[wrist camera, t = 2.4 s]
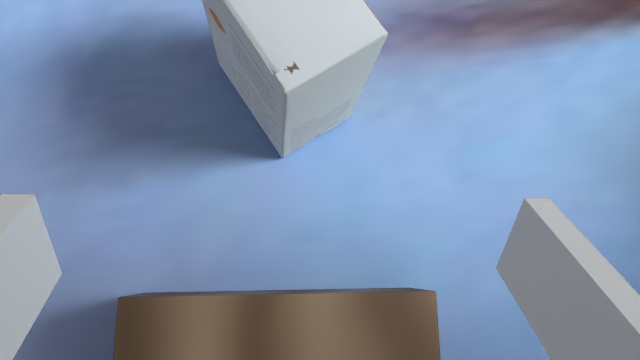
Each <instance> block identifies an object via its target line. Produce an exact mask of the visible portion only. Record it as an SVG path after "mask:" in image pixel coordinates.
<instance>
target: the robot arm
mask: <svg viewBox="0 0 640 360" xmlns="http://www.w3.org/2000/svg"><path fill="white" fill-rule="evenodd" d="M496 269H497V271H498V272H499V274H500V276H501V277H502V279H503V281H504V282H505V284H506V285H507V287H508V289H509V290H510V292H511V294H512V295H513V297H514V299H515V300H516V302H517V304H518V305H519V307H520V308H521V310H522V312H523V313H524V315H525V317H526V318H527V320H528V322H529V323H530V325H531V327H532V328H533V330H534V332H535V333H536V335H537V336H538V338H539V340H540V341H541V343H542V345H543V346H544V348H545V350H546V351H547V353H548V355H549V356H550V358H551V359H552V360H640V295H639V294H638V293H637V292H636V291H635V290H634V289H633V288H632V287H631V285H630V284H629V283H628V282H627V281H626V280H625V279H624V278H623V277H622V276H621V275H620V274H619V273H618V272H617V270H616V269H615V268H614V267H613V266H612V265H611V264H610V263H609V262H608V261H607V260H606V259H605V258H604V257H603V255H602V254H601V253H600V252H599V251H598V250H597V249H596V248H595V247H594V246H593V245H592V244H591V243H590V242H589V240H588V239H587V238H586V237H585V236H584V235H583V234H582V233H581V232H580V231H579V230H578V229H577V228H576V227H575V225H574V224H573V223H572V222H571V221H570V220H569V219H568V218H567V217H566V216H565V215H564V214H563V213H562V212H561V210H560V209H559V208H558V207H557V206H556V205H555V204H554V203H553V202H552V201H551V200H550V199H549V198H524V201H523V203H522V206H521V208H520V210H519V213H518V215H517V218H516V220H515V223H514V225H513V228H512V230H511V233H510V235H509V238H508V240H507V243H506V245H505V248H504V250H503V252H502V255H501V257H500V260H499V262H498V265H497V267H496ZM61 275H62V271H61V269H60V266H59V263H58V260H57V257H56V254H55V251H54V249H53V246H52V243H51V240H50V237H49V234H48V231H47V229H46V226H45V223H44V220H43V217H42V214H41V212H40V209H39V206H38V203H37V200H36V197H35V194H1V195H0V360H13V359H14V357H15V355H16V353H17V352H18V350H19V348H20V346H21V345H22V343H23V341H24V339H25V338H26V336H27V334H28V332H29V331H30V329H31V327H32V325H33V324H34V322H35V320H36V318H37V317H38V315H39V313H40V311H41V310H42V308H43V306H44V304H45V303H46V301H47V299H48V297H49V296H50V294H51V292H52V290H53V289H54V287H55V285H56V284H57V282H58V280H59V278H60V277H61Z"/></svg>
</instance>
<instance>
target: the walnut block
mask: <svg viewBox="0 0 640 360" xmlns="http://www.w3.org/2000/svg"><path fill="white" fill-rule="evenodd" d="M113 360H440V345H439V330H438V315H437V301H436V291H430V290H422V289H414V288H373V289H321V290H269V291H217V292H165V293H142V294H136V295H131V296H125V297H119V298H118V307H117V320H116V332H115V344H114V356H113Z"/></svg>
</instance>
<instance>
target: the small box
mask: <svg viewBox="0 0 640 360" xmlns="http://www.w3.org/2000/svg"><path fill="white" fill-rule="evenodd" d="M202 2H203V6H204V9H205V13H206V17H207V21H208V24H209V28H210V31H211V35H212V39H213V43H214V47H215V50H216V54H217V58H218V61H219V65H220V67H221V68H222V69H223V71H224V72H225V74H226V75H227V77H228V78H229V80H230V81H231V83H232V84H233V86H234V87H235V89H236V90H237V92H238V93H239V95H240V96H241V98H242V99H243V101H244V102H245V104H246V105H247V107H248V108H249V110H250V111H251V113H252V114H253V116H254V117H255V119H256V120H257V122H258V123H259V125H260V126H261V128H262V129H263V131H264V132H265V133H266V135H267V136H268V138H269V140H270V141H271V143H272V144H273V146H274V147H275V149H276V150H277V152H278V153H279V155H280V156H281V158H284V157H286V156H288V155H289V154H291V153H292V152H294V151H296V150H298V149H299V148H301V147H302V146H304V145H306V144H307V143H309V142H311V141H312V140H314V139H316V138H317V137H319V136H321V135H322V134H324V133H326V132H327V131H329V130H331V129H332V128H334V127H335V126H337V125H339V124H340V123H342V122H344V121H345V120H347V119H349V118H350V116H351V114H352V112H353V110H354V107H355V105H356V103H357V101H358V99H359V97H360V94H361V92H362V90H363V88H364V86H365V83H366V81H367V79H368V77H369V75H370V72H371V70H372V68H373V66H374V64H375V62H376V60H377V57H378V55H379V53H380V50H381V48H382V46H383V44H384V42H385V39H386V37H387V34H388V32H387V31H386V30H385V28H384V27H383V26H382V24H381V23H380V22H379V20H378V19H377V18H376V16H375V15H374V13H373V12H372V11H371V9H370V8H369V7H368V5H367V4H366V3H365V1H364V0H202Z"/></svg>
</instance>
